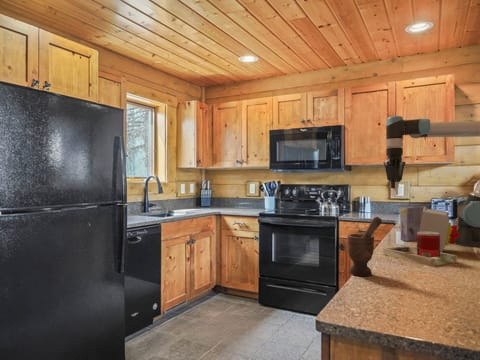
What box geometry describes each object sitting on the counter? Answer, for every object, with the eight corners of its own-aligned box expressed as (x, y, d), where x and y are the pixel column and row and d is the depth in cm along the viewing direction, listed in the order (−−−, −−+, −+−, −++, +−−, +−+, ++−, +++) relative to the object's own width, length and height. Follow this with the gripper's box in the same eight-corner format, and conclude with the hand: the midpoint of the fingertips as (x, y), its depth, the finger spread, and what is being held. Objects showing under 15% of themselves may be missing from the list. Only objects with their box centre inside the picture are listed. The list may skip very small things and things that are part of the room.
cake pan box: (420, 237, 194) (420, 205, 194) (429, 238, 190) (429, 206, 190) (399, 240, 184) (399, 207, 184) (408, 242, 180) (408, 207, 180)
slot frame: (407, 251, 155) (407, 245, 155) (456, 261, 136) (456, 254, 136) (383, 254, 149) (383, 248, 149) (431, 266, 129) (431, 258, 129)
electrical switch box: (454, 261, 145) (463, 214, 144) (415, 252, 153) (422, 207, 151) (455, 255, 158) (462, 211, 156) (418, 247, 165) (425, 205, 164)
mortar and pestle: (386, 274, 118) (386, 215, 118) (380, 280, 111) (380, 217, 111) (351, 269, 125) (351, 213, 125) (344, 275, 117) (344, 215, 117)
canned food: (444, 262, 135) (444, 234, 135) (424, 262, 134) (423, 234, 134) (432, 258, 142) (432, 231, 142) (413, 258, 142) (413, 231, 142)
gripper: (397, 148, 181) (397, 194, 181) (379, 147, 175) (379, 194, 175) (410, 147, 174) (410, 194, 174) (391, 146, 168) (391, 195, 168)
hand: (394, 194), depth 174 cm, fingers closed
